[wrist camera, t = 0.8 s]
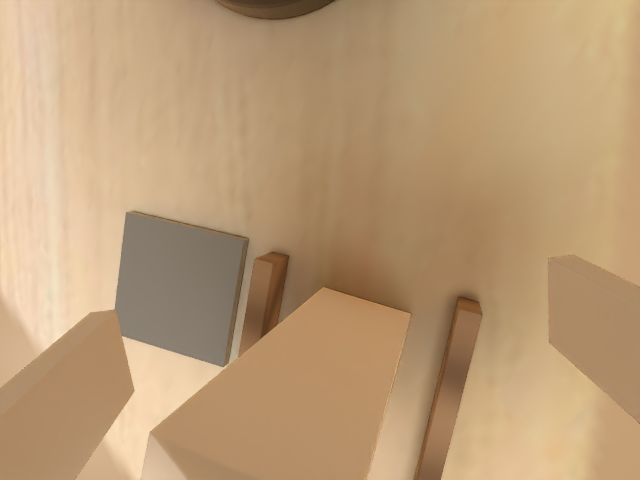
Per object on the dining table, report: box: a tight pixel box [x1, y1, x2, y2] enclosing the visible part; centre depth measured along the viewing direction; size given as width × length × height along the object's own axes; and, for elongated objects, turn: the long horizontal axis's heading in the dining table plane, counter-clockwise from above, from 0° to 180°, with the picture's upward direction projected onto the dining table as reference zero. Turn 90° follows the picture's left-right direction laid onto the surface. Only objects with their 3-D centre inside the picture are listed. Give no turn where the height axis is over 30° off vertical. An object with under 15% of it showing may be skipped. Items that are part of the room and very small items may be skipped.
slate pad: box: [115, 212, 248, 367], centre depth 33 cm, size 9×9×1 cm
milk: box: [141, 287, 411, 480], centre depth 20 cm, size 6×6×22 cm
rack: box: [238, 252, 482, 480], centre depth 29 cm, size 20×13×5 cm
